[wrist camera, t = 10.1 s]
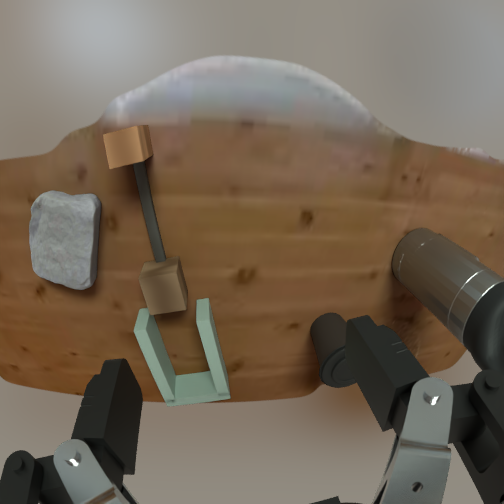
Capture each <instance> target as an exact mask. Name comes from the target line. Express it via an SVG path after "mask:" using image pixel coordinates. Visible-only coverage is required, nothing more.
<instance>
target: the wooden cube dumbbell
mask: <svg viewBox="0 0 504 504" xmlns="http://www.w3.org/2000/svg"><path fill="white" fill-rule="evenodd" d="M103 137H104V142H105V148H106V153H107V158H108V163H109V168H110V169H112V168H116V167H121V166H125V165H129V164H133V167H134V172H135V176H136V181H137V186H138V190H139V195H140V199H141V204H142V208H143V212H144V217H145V221H146V225H147V229H148V233H149V237H150V241H151V245H152V249H153V252H154V256H155V261H149V262H145V263H144V266H143V268H142V271H141V274H140V276H139V282H140V285H141V289H142V292H143V295H144V298H145V301H146V304H147V307H148V310H149V313H150V315H156V314H162V313H169V312H175V311H182V310H186V308H187V293H188V290H187V286H186V282H185V278H184V274H183V270H182V266H181V262H180V258H179V256H177V257H171V258H166V255H165V251H164V248H163V243H162V239H161V235H160V231H159V227H158V223H157V218H156V214H155V210H154V205H153V201H152V196H151V191H150V186H149V182H148V177H147V172H146V167H145V162H144V160H146V159H147V158H149V157H150V156H152V155H153V151H152V145H151V139H150V134H149V128H148V125H142V126H134V127H130V128H126V129H123V130H119V131H115V132H111V133H108V134H104V135H103Z"/></svg>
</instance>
